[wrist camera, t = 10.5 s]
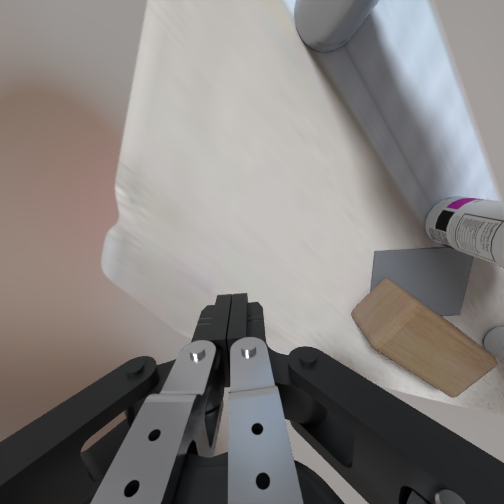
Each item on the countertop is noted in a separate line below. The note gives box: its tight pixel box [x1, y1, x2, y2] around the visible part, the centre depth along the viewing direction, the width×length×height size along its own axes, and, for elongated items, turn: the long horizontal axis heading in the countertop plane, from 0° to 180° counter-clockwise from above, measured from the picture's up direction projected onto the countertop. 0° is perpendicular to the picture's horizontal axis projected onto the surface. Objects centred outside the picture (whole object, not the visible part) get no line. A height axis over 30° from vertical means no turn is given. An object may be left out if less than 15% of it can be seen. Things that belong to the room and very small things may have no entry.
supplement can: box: [425, 197, 504, 268], centre depth 36 cm, size 8×8×15 cm
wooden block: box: [351, 278, 497, 397], centre depth 44 cm, size 10×10×20 cm
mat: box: [370, 247, 473, 316], centre depth 47 cm, size 14×18×1 cm
